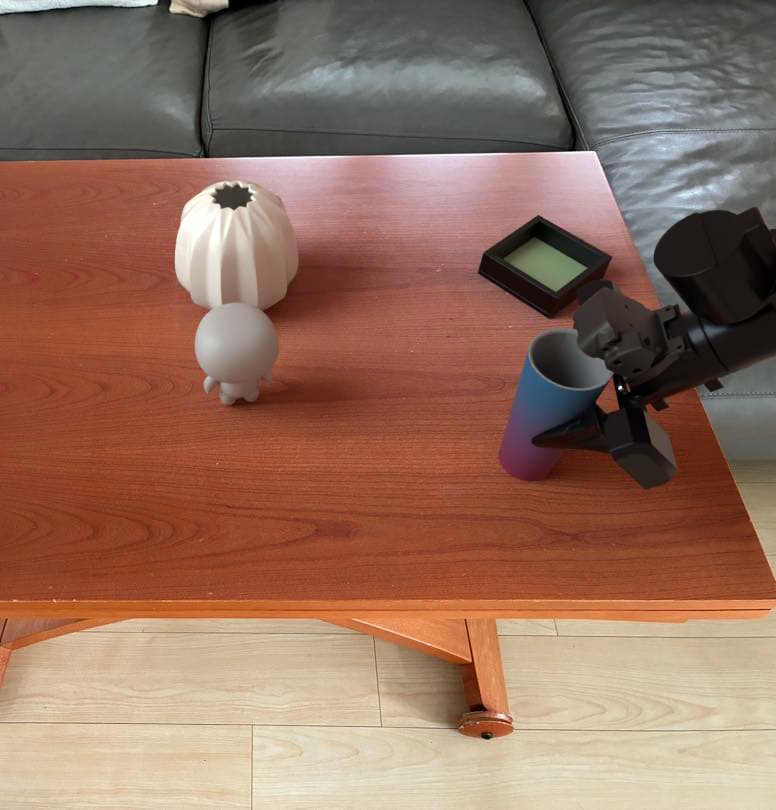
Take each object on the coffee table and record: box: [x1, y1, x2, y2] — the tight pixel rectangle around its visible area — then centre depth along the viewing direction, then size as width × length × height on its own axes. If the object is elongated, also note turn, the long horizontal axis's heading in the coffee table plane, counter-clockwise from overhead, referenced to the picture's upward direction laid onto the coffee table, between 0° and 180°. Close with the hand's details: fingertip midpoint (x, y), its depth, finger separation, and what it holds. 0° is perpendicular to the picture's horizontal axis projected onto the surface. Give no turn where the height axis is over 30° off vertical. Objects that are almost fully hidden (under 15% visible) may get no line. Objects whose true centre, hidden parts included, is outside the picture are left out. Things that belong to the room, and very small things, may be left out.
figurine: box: [194, 303, 280, 406], centre depth 76 cm, size 8×8×12 cm
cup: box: [498, 327, 614, 482], centre depth 69 cm, size 7×7×15 cm
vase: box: [174, 179, 300, 312], centre depth 86 cm, size 14×14×13 cm
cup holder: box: [477, 214, 613, 320], centre depth 89 cm, size 10×10×3 cm
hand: (529, 414), depth 69 cm, fingers closed on cup, 6 cm apart
